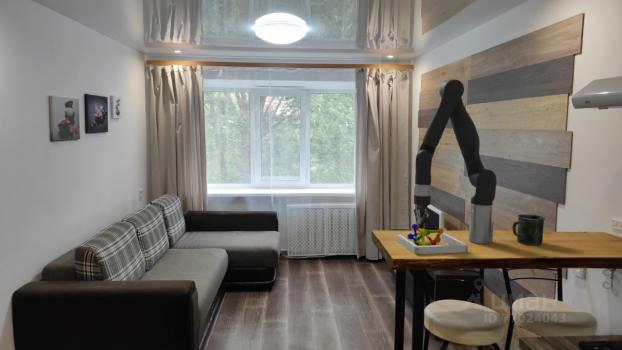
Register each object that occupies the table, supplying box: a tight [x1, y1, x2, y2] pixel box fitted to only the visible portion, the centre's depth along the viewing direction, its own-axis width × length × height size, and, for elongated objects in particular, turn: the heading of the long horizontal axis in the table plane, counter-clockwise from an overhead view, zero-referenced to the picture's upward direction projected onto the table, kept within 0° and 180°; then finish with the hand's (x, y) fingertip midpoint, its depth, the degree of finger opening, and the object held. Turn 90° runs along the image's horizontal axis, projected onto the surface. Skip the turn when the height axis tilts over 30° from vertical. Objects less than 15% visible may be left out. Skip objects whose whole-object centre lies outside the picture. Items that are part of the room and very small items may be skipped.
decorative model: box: [407, 223, 444, 246], centre depth 191 cm, size 13×9×15 cm
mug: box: [511, 213, 546, 246], centre depth 196 cm, size 11×15×12 cm
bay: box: [396, 232, 469, 255], centre depth 189 cm, size 23×20×3 cm
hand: (420, 231), depth 199 cm, fingers closed
